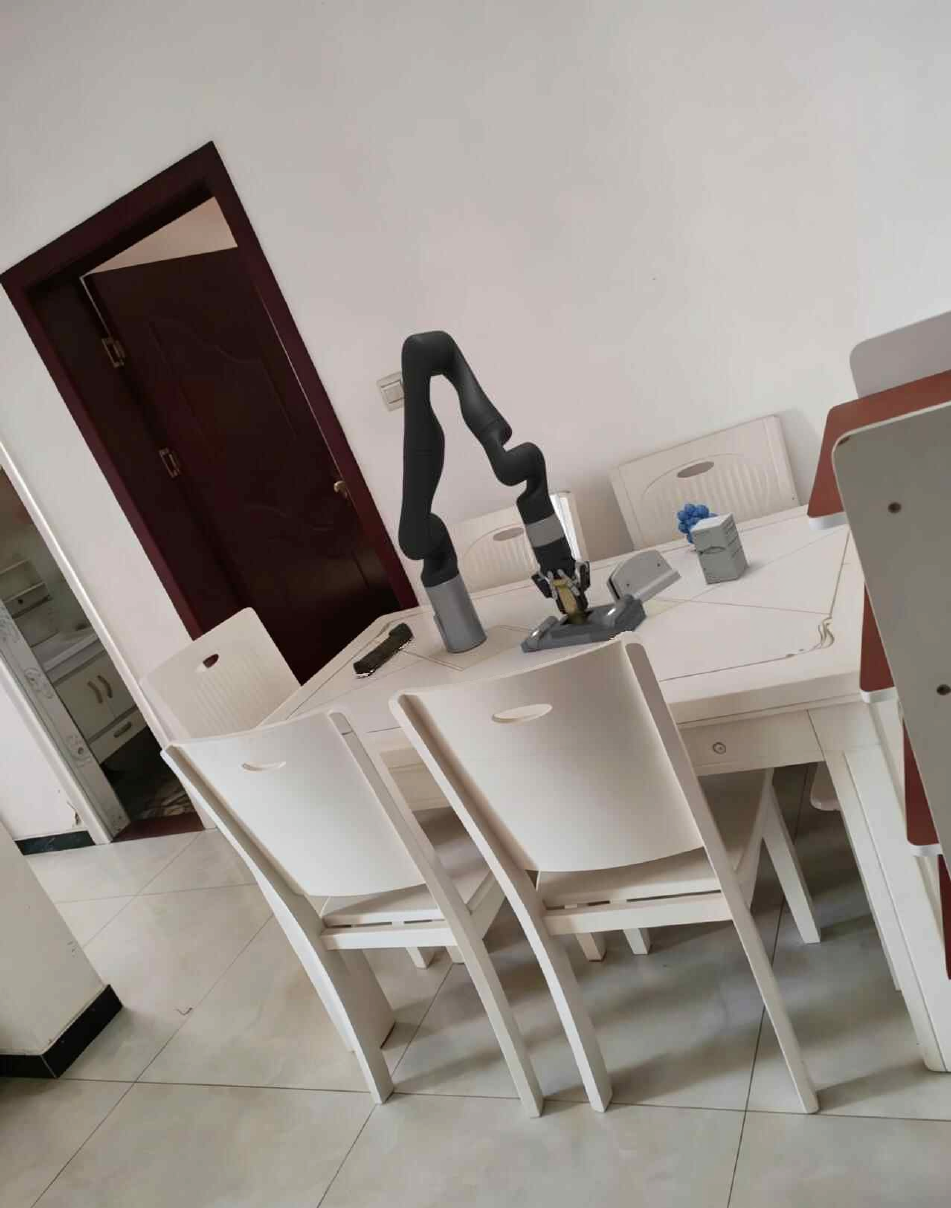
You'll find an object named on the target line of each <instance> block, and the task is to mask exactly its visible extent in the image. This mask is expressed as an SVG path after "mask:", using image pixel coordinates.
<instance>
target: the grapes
mask: <svg viewBox="0 0 951 1208" xmlns="http://www.w3.org/2000/svg"><path fill="white" fill-rule="evenodd" d="M676 516H677V519H678V520H679V521H680V522H679V523H678V525H677V528H678V530H679V531H680V533H682V534H685V535H686V534H687V535H686V541H687V543H689V544H692V545H694V543H693V540H692V537H691V534H690V530H691V529H692V528H693V527H694V526H695V525H696V524H697V523H698V522H699V521H700V520H702V519H706V518H711V517H717V516H719V514H716V513H715V512H710V510H709V508H708V507H707V506H706V505H705V504H698V505H695V504H693V503H685V505H684V506H683V509H680V510H679V511H677V514H676Z"/></svg>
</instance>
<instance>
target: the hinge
mask: <svg viewBox="0 0 951 1208" xmlns="http://www.w3.org/2000/svg"><path fill="white" fill-rule="evenodd" d="M680 579H682V576H681V574H680V573H679V571H678V570H676V569H675V568H672V567H671V565H670V564H669V562H668V561H667V560H666V558H664V557H663V555H662V554H661V553H660V551H659V550H657V549H650V550H646V551H642V552H639V553H636V554H634V555H632V556H631V557H628V558H627V559H625V560H624V561H622V562H621V563H620V564H619V565H617V566H616V568H614V570H613V571H612V572H611V573H610V575H609V576H608V577H607V579H606V582H605V583H606V587H607V588H608V590H609V592H610V595H611V596H612V598H613V600H614V603H616V602H617V601H618V600H619V599H620V598H621V597H622V596H623V595H624V594H631V595H632V596H633V597H634V598H635V600H637V599H640V600H641V603H642V605H643V604H644V603H645V602H647V601H649V600H650V599H652V598H653V597H654V596H656V595H657V594H659V593H661V592H662V591H664V589H667V588H668V587H669V586H670V585H672V584H674V583H675V582H676V581H678V580H680Z"/></svg>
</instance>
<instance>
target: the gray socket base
mask: <svg viewBox="0 0 951 1208" xmlns="http://www.w3.org/2000/svg"><path fill="white" fill-rule="evenodd" d="M585 612H586V614H587V617H588V618H587V619H586V620H585V621H584V622H580V623H574V624H570V622H569V620H568V617H567V615H566V614H565V615H563V617H562V618H561V619H560V620H559V619H558V617H556V616H555V615H548V617H546V618H545V620H543V621H542V622H541V623H540V624H539V625H538V626H537V627H535V629H534V630H533V631H532V632H531V633H529V635H528V636H527V637H525V639H524V640H523V641H522V642H521V643H520V647H521V649H522V652H523V653H529V652H528V651H530V652H534V650H536V651H540V650H539V649H543V650H549V649H548V648H550V649H555V648H554V647H557V648H563V647H570V646H577V645H582V644H590V643H597V642H605V641H610V640H609V639H610V638H614V637H615V636H616V635H618V634H620V633H621V632H625V631H633V632H634V631H635V629H636V628H637V627H638V626H639V625H640V624H641V623H642V621H644V619H645V618H646V617H647V613H646V611H645V609H644V606H643V604H642V603H641V600H640V599H637V600H635V598H634V597H633V596H632V595H631V594H624V595H623V596H622V597H621V598H620V599H619V600H618V601H617V602H613V603H609V604H603V605H598V606H591V607H590V606H589V607H588V608H587V609H586V610H585ZM562 646H563V647H562Z"/></svg>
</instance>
